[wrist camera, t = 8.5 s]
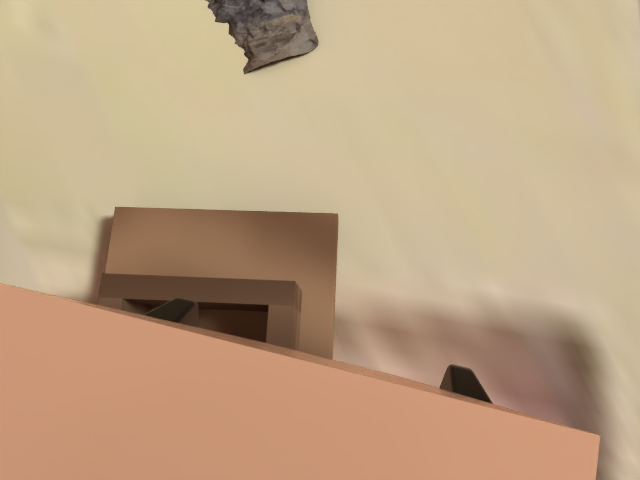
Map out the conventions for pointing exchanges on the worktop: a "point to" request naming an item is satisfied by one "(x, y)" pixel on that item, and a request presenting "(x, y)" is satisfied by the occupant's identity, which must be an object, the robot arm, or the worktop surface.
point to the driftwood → (267, 28)
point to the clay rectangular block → (239, 409)
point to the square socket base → (230, 271)
